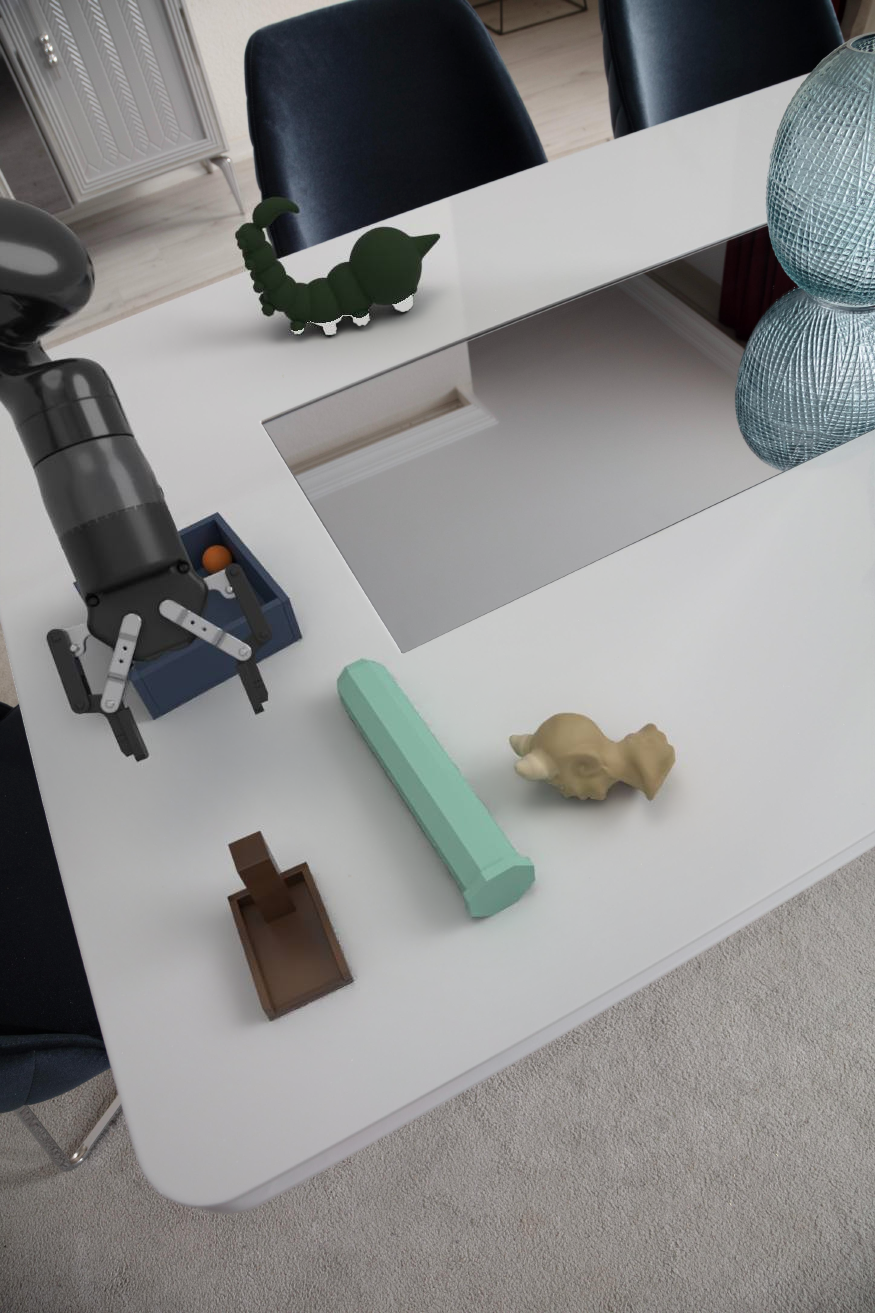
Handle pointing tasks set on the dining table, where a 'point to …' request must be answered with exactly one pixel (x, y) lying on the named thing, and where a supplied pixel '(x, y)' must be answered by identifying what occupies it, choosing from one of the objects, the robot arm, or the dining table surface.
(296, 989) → the scoop
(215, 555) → the toy ball
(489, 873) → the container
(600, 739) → the tan toy creature
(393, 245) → the toy figurine
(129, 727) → the robot arm
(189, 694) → the tote
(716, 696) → the dining table surface
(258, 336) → the dining table surface
